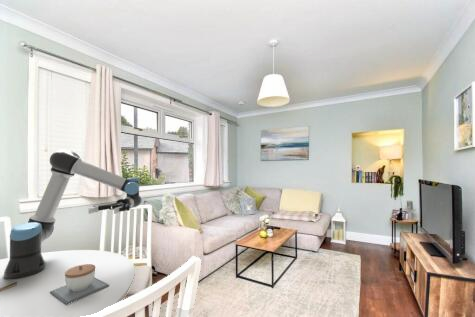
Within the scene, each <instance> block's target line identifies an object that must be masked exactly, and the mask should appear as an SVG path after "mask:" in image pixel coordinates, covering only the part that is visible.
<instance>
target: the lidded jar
mask: <svg viewBox="0 0 475 317" xmlns="http://www.w3.org/2000/svg"><path fill="white" fill-rule="evenodd" d="M95 271H96V265H94V264H93V263H92V264H89V263H86V264H80V265H75V266H73V267H70V268H68V269H67V270H66V271H65V273H64V276H65V280H64V281H65V285H67V287H68V288H69V289H71V290H72V291H81V290H84V289H86V288H87V287H88V286H89V285H90V284H91V282H92V281H93V279H94V277H95V275H96V272H95Z"/></svg>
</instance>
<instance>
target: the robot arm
mask: <svg viewBox="0 0 475 317" xmlns="http://www.w3.org/2000/svg"><path fill="white" fill-rule="evenodd" d="M49 164H50V166H51V167H50V173H51V177H50V179H49V181H48V183H47V185H46V188H45V190H44V192H43V195H42V197H41V200H40V202H39V204H38V207H37V209H36V210H35V214H33V215H31V216H30V217H29V219H28V222H25V223H21V224H18V225H15V226H14V227H12V228H11V230H10V233H9V260H8V261H7V262H8V263H7V264H6V267H5V270H4V274H3V277H4V278H5V279H8V280H9V279H14V280H15V279H20V278H25V277H30V276H32V275H35V274H37V273H40V272H41V271H43V270H45V269H46V262H45V259H44V257H43V255H42V243H43V242H44V241H45V240H47V239H49V238H50V236H52V234H53V232H54V230H55V229H54V228H55V226H54V225H55V222H56V218H55V214H56V212H57V210H58V207H59V205H60V202H61V200H62V198H63V195H64V192H65V190H66V188H67V186H68V183H69V180H70V179H71V178H72V177H74V176H75V174H76V175H78V176H82V177H84V178H87V179H89V180H92V181H94V182H97V183H100V184H102V185H104V186H108V187H111V188H113V189H115V190H118V191H121V192H124V193H125V194H126V196H125V197H122V198H118V200H116V201H115V202H113V203H106V204H105V203H104V204H97V205H93V207H89V208H88V214H94V213H98V212H99V211H106V210H109V211H112V210H113V214H118V213H121V212H125V211H128V212H129V211H130V209H133V208H137V207H139V206H140V205H141V204H142V202H143V201H142V200H143V198H142V197H141V195H140V179H139V178H140V177H127V178H125V177H124V176H121V175H119V174H116V173H113V172H111V171H108V170H106V169H103V168H100V167H98V166H96V165H93V164H91V163H89V162H86V161H83V160H82V158H81V156H80V155H79V154H77V153H76V152H74V151H73V150H72V151H70V150H68V149H67V150H66V149H59V150H56V151H54V152H53V153H52V154H51V155H50V157H49Z"/></svg>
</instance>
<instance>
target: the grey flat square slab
mask: <svg viewBox="0 0 475 317" xmlns="http://www.w3.org/2000/svg"><path fill="white" fill-rule="evenodd" d="M108 287H110V284H108V283H106V282H105V281H103V280H100V279H99V278H97V277H95V276H94V279H93V281H92V282H91V284H90V285H89V286H88V287H87V288H86V289H84V290H81V291H72V290H71V289H69V288H68V287H67V285H66V284H65V285H63V286H60V287H58V288H55V289H52V290H50V291H49V293H50V294H51V295H52V296H53V297H54V298H56V299H58V300H59V302H61V303H63V304H64V305H65V306H67V304H68V305H70V304H72V303H74V301H75V302H76V300H77V301H79V300H82V299H83V297H84V298H86V297H88V296H90V295H92V294H95V293H97V292H99V291H101V290H104V289H106V288H108ZM78 299H79V300H78ZM71 302H72V303H71ZM69 303H70V304H69Z"/></svg>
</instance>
